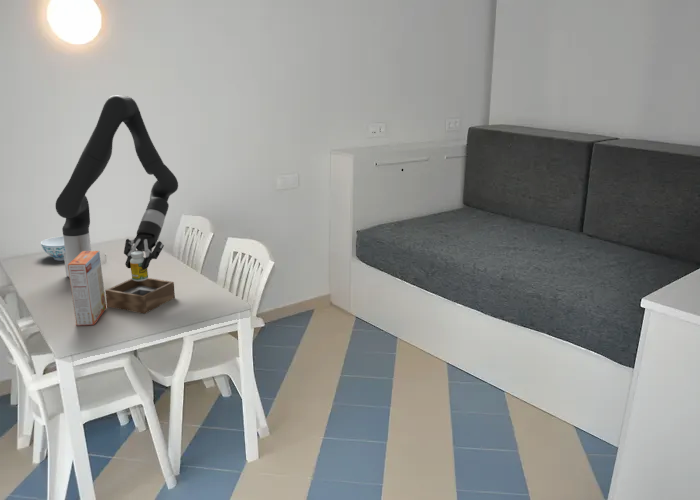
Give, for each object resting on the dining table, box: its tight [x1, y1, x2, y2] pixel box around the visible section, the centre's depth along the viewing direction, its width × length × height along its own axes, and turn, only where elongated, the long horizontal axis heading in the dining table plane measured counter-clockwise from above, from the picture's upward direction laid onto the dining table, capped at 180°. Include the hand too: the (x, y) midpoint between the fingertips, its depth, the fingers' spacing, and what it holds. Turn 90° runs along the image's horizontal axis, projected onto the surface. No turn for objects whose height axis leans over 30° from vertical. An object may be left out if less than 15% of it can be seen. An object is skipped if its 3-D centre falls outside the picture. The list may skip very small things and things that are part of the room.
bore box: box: [104, 277, 176, 315], centre depth 211 cm, size 16×16×6 cm
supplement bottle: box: [130, 251, 149, 281], centre depth 209 cm, size 5×5×10 cm
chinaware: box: [40, 235, 65, 262], centre depth 258 cm, size 15×15×8 cm
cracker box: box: [68, 250, 107, 326], centre depth 196 cm, size 14×6×21 cm, turn 5°
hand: (135, 267), depth 207 cm, fingers closed on supplement bottle, 5 cm apart
